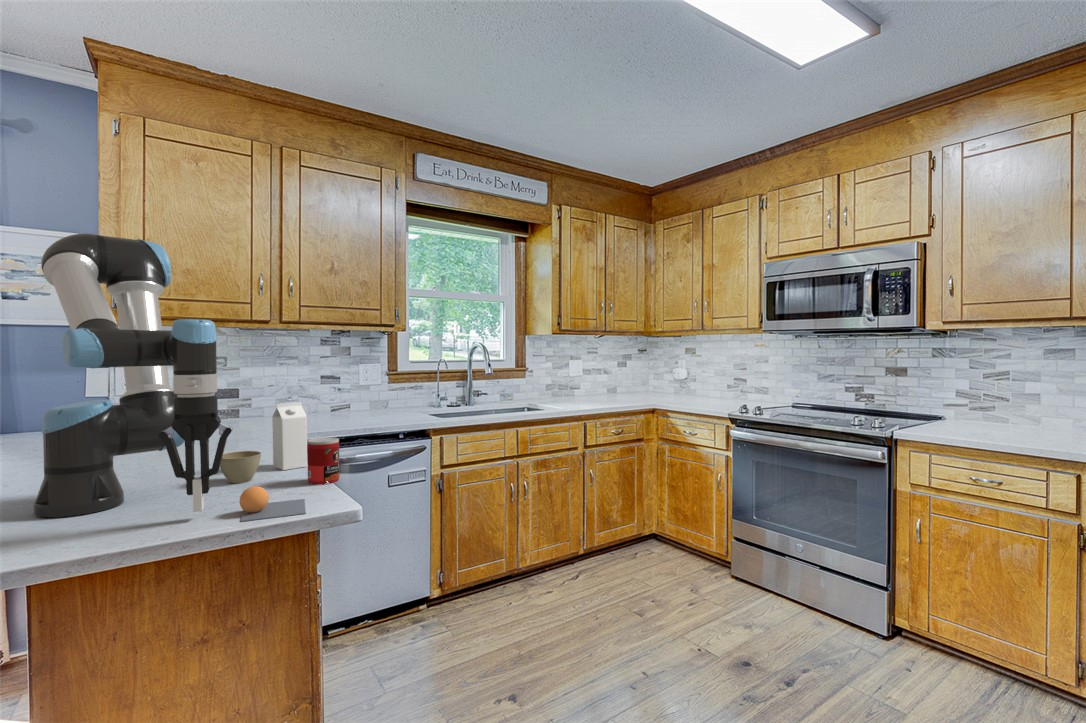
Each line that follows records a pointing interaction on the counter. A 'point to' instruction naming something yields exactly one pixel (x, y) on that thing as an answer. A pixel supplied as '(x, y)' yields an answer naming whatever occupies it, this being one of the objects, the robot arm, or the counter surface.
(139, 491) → the counter surface
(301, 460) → the milk carton
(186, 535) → the counter surface
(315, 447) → the canned food
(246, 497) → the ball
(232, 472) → the olive green bowl
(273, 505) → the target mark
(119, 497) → the robot arm
